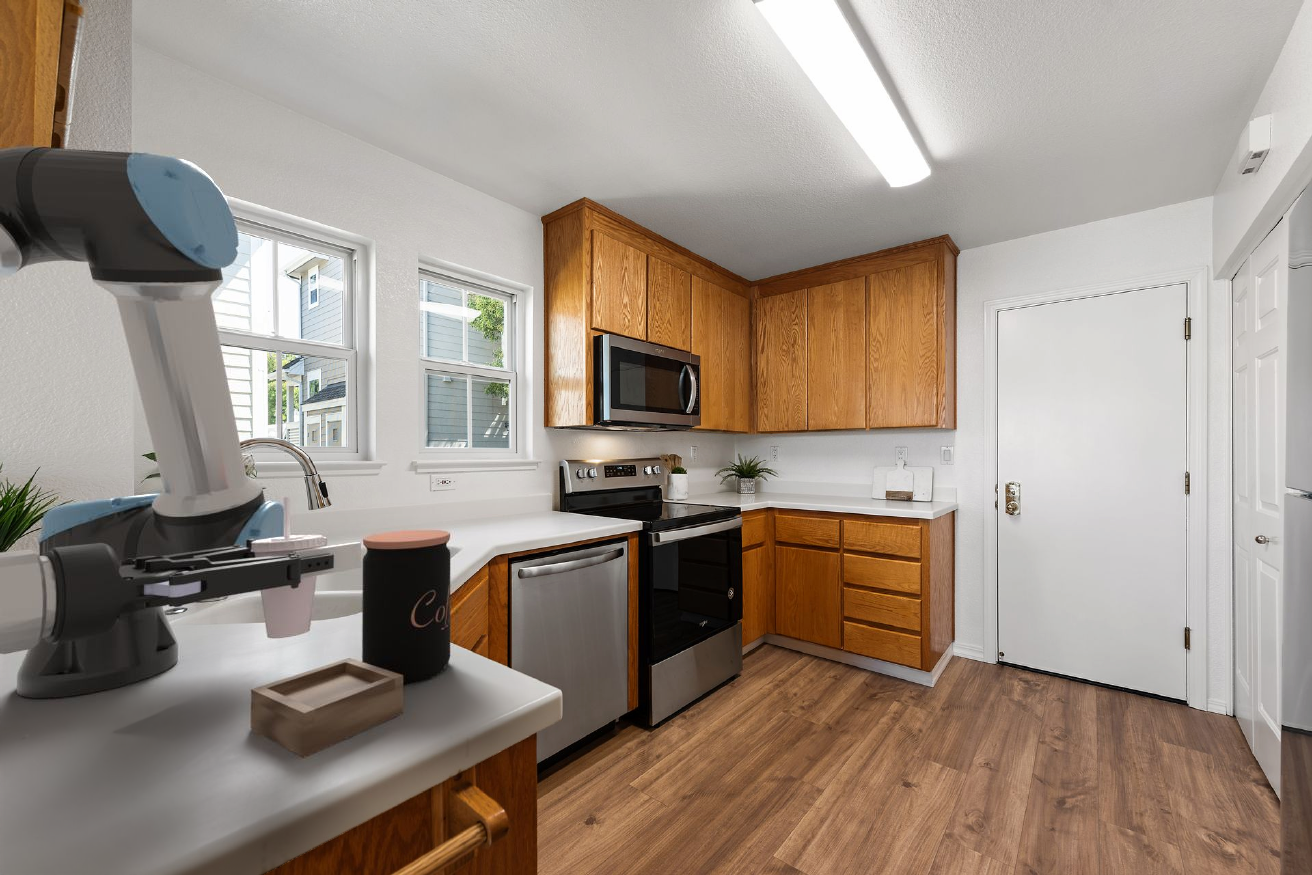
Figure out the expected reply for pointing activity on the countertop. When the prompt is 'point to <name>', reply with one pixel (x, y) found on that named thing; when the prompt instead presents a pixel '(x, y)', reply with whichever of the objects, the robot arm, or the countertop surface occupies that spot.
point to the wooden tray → (325, 705)
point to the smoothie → (284, 604)
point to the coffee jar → (407, 603)
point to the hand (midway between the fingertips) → (341, 551)
